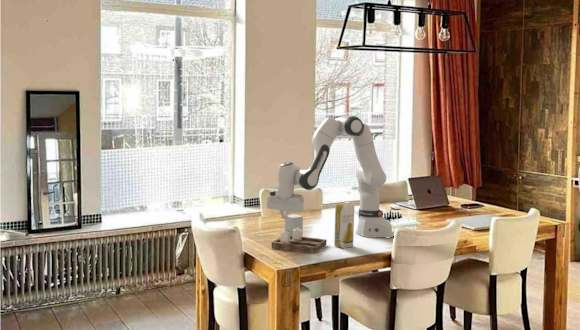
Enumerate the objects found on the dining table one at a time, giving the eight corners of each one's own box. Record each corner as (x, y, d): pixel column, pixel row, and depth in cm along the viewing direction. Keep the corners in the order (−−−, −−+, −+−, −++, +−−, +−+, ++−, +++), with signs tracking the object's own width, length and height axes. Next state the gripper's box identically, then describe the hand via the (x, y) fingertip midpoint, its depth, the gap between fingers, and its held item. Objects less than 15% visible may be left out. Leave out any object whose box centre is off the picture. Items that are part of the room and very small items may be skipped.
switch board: (326, 245, 341) (326, 239, 341) (315, 253, 325) (315, 247, 324) (284, 240, 350) (284, 234, 349) (271, 248, 333) (271, 242, 333)
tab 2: (301, 241, 343) (302, 228, 342) (299, 242, 340) (299, 229, 339) (294, 240, 345) (294, 227, 344) (292, 241, 341) (292, 228, 340)
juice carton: (342, 249, 334) (343, 203, 331) (332, 245, 340) (333, 201, 337) (355, 246, 340) (356, 201, 336) (345, 243, 346) (346, 199, 342)
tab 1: (289, 244, 336) (290, 231, 335) (287, 246, 333) (287, 232, 332) (282, 243, 337) (283, 230, 336) (280, 245, 334) (280, 231, 333)
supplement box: (302, 238, 354) (303, 216, 352) (292, 240, 349) (292, 217, 347) (294, 236, 359) (294, 213, 358) (284, 237, 355) (284, 215, 353)
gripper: (305, 193, 340) (304, 219, 342) (270, 190, 348) (269, 215, 349) (301, 195, 334) (300, 221, 336) (265, 192, 342) (264, 217, 344)
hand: (284, 218), depth 343 cm, fingers closed
